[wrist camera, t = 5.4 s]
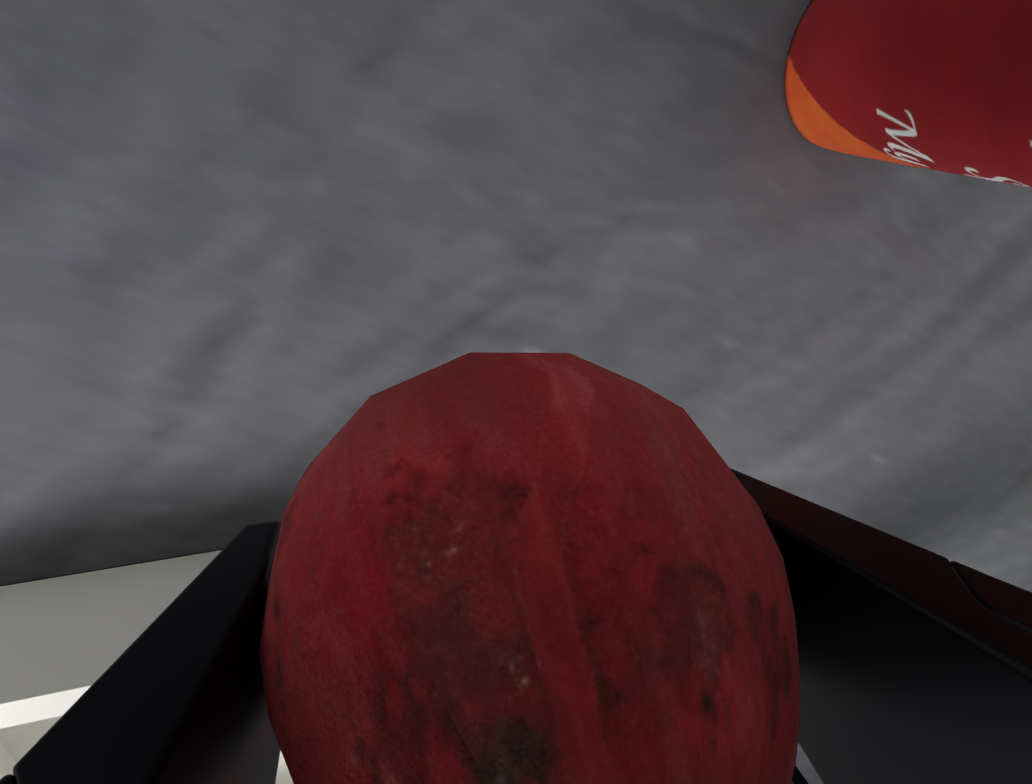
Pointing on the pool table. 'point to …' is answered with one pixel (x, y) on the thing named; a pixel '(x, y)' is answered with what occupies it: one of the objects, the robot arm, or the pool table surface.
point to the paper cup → (917, 83)
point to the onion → (528, 592)
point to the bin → (77, 641)
